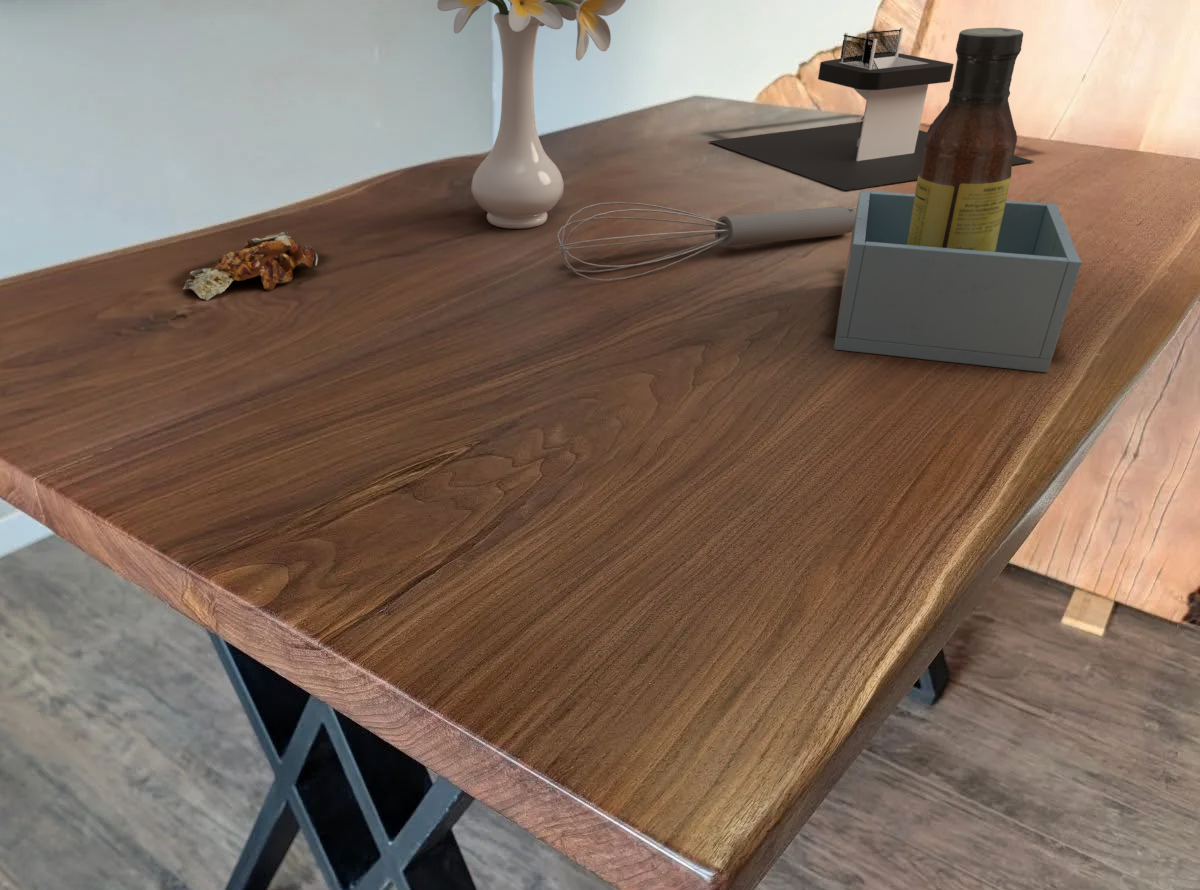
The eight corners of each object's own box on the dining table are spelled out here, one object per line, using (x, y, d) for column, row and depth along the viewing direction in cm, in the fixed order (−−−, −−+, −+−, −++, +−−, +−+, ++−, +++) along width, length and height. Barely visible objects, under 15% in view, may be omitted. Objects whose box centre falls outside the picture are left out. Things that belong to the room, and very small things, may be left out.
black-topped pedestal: (879, 120, 143) (899, 12, 136) (1034, 162, 123) (1068, 38, 116) (707, 142, 134) (719, 27, 127) (845, 191, 114) (868, 58, 107)
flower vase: (581, 251, 98) (593, -54, 84) (414, 225, 106) (400, -59, 92) (632, 215, 108) (651, -65, 94) (476, 194, 115) (472, -68, 101)
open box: (1028, 302, 85) (1056, 203, 81) (1047, 373, 74) (1081, 262, 70) (842, 285, 89) (860, 189, 85) (833, 349, 78) (853, 243, 74)
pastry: (171, 289, 91) (164, 248, 89) (281, 255, 98) (276, 217, 96) (218, 308, 87) (212, 265, 85) (329, 271, 94) (325, 231, 92)
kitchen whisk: (885, 239, 100) (898, 170, 96) (576, 298, 88) (578, 223, 85) (841, 222, 104) (852, 157, 101) (542, 277, 93) (543, 205, 89)
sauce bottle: (987, 307, 82) (1060, 27, 71) (969, 333, 78) (1045, 39, 67) (902, 292, 85) (959, 21, 74) (880, 316, 81) (938, 33, 70)
